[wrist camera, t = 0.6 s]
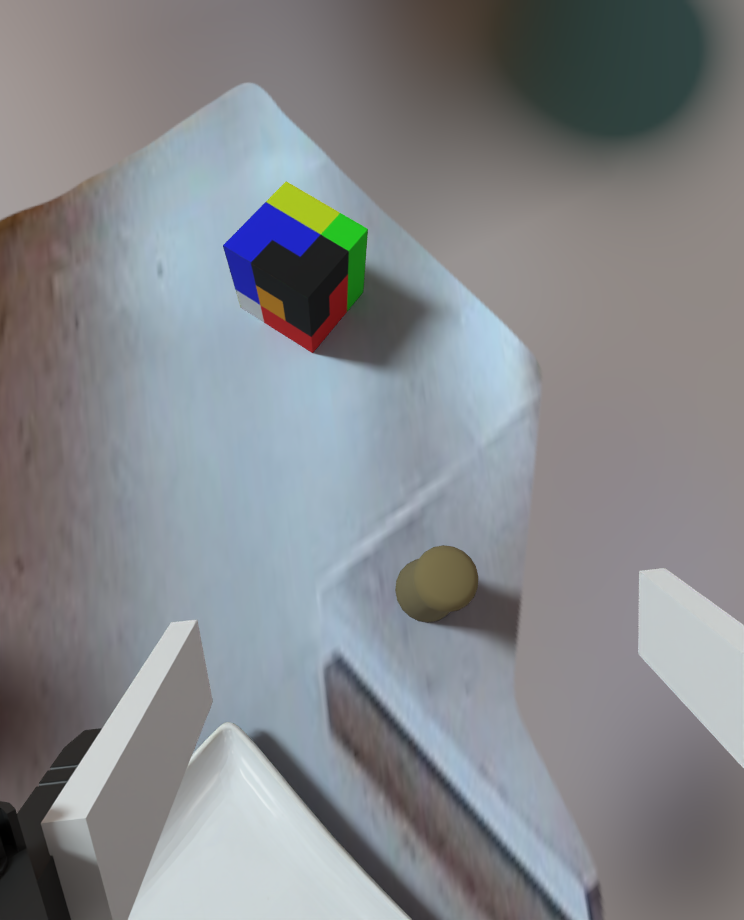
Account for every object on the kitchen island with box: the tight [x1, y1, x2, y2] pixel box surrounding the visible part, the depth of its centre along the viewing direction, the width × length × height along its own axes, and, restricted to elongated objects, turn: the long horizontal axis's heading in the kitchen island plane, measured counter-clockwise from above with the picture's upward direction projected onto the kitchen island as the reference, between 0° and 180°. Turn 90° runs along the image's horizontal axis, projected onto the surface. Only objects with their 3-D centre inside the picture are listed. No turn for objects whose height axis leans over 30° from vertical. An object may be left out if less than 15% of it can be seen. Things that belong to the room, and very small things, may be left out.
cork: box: [395, 545, 478, 622], centre depth 46 cm, size 6×6×11 cm
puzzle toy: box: [223, 182, 368, 353], centre depth 56 cm, size 10×10×10 cm
